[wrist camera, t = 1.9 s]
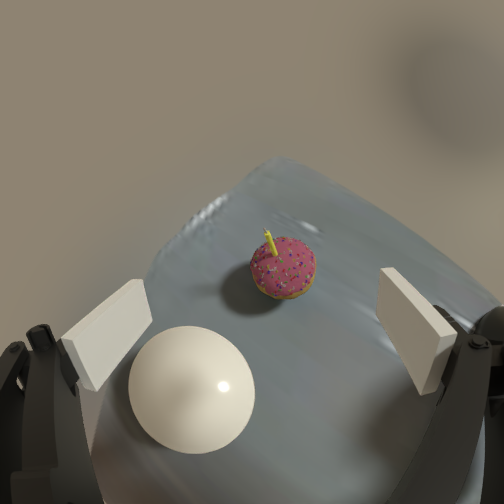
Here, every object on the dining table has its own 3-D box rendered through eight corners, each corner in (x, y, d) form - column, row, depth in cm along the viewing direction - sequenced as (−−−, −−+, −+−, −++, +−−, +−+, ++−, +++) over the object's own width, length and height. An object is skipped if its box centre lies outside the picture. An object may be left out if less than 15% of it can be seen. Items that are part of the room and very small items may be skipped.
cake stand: (223, 319, 38) (206, 301, 31) (285, 406, 30) (283, 411, 24) (142, 371, 35) (111, 364, 28) (193, 458, 28) (169, 471, 21)
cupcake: (244, 289, 39) (225, 249, 29) (275, 245, 42) (267, 194, 32) (295, 319, 36) (295, 287, 26) (324, 269, 39) (334, 223, 28)
